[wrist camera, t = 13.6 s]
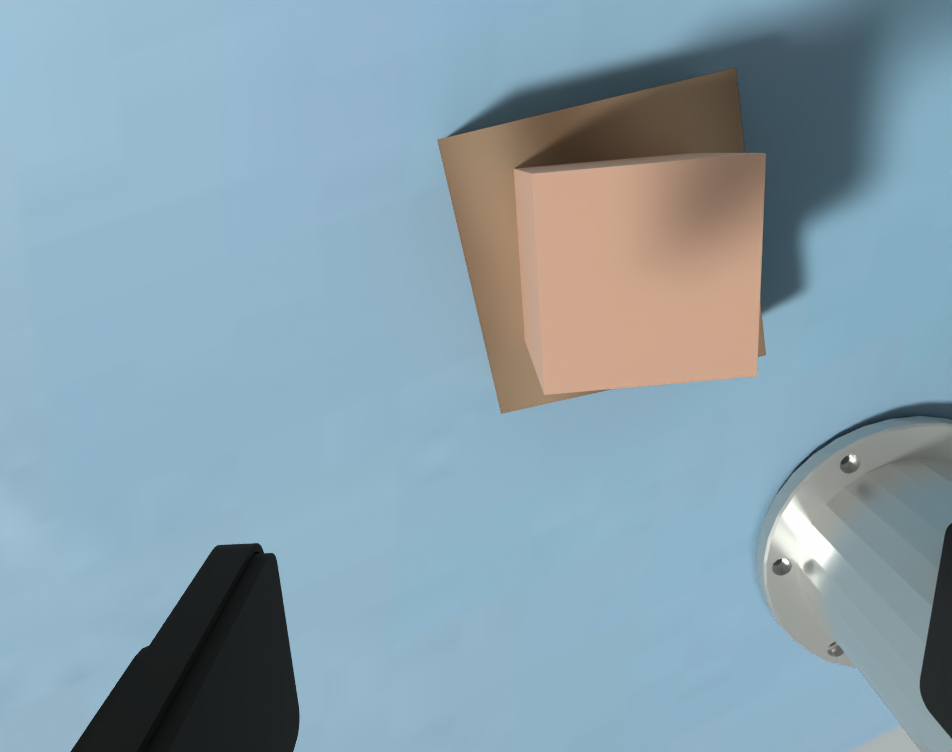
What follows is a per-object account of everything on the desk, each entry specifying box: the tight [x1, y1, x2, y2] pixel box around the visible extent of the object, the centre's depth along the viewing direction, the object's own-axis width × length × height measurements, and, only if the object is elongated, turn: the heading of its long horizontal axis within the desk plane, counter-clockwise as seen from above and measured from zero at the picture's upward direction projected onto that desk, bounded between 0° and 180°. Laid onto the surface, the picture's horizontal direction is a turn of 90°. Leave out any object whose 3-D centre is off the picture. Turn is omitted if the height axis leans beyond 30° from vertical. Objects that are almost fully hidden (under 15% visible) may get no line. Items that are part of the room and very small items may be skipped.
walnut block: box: [438, 68, 766, 414], centre depth 26 cm, size 10×10×4 cm
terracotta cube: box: [514, 153, 766, 395], centre depth 22 cm, size 6×6×6 cm
